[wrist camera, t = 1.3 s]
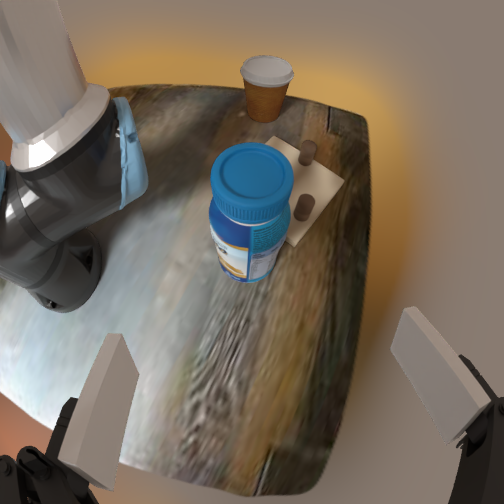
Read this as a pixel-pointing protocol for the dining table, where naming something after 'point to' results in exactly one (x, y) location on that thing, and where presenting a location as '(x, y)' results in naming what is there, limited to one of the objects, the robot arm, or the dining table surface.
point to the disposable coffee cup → (265, 86)
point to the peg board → (306, 187)
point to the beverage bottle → (250, 209)
